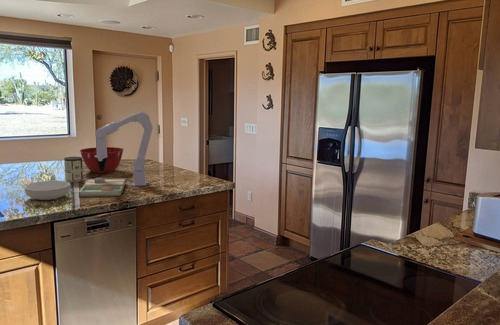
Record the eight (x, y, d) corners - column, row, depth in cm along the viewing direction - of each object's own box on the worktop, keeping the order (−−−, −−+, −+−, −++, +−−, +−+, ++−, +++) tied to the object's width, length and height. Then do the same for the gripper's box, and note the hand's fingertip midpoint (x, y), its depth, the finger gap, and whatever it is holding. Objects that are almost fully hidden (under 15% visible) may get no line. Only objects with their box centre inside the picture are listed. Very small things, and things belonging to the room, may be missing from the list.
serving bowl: (17, 198, 197) (16, 185, 195) (56, 190, 214) (56, 178, 213) (38, 206, 185) (38, 192, 184) (78, 197, 203) (78, 184, 201)
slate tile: (96, 181, 227) (95, 177, 227) (105, 180, 228) (104, 177, 228) (94, 183, 222) (94, 179, 222) (103, 182, 223) (103, 179, 223)
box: (83, 190, 216) (83, 186, 216) (122, 189, 221) (122, 185, 220) (78, 196, 204) (78, 191, 203) (120, 195, 208) (120, 191, 208)
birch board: (88, 183, 232) (88, 179, 231) (125, 183, 236) (125, 178, 236) (83, 190, 216) (83, 185, 216) (122, 189, 221) (122, 184, 220)
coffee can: (73, 177, 246) (72, 156, 244) (86, 179, 243) (85, 157, 241) (61, 181, 236) (60, 158, 234) (75, 182, 234) (74, 159, 231)
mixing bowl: (71, 173, 257) (70, 151, 255) (95, 166, 285) (95, 145, 282) (110, 177, 252) (109, 153, 250) (131, 169, 280) (130, 148, 277)
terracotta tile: (101, 189, 210) (101, 192, 210) (111, 189, 211) (111, 192, 211) (103, 186, 215) (103, 190, 215) (112, 186, 216) (112, 190, 216)
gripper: (96, 146, 233) (96, 168, 235) (92, 150, 219) (93, 173, 222) (108, 146, 235) (109, 168, 237) (105, 150, 221) (106, 173, 223)
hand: (102, 171), depth 229 cm, fingers closed
